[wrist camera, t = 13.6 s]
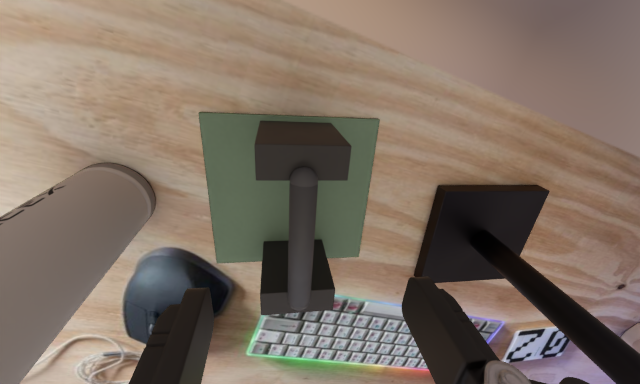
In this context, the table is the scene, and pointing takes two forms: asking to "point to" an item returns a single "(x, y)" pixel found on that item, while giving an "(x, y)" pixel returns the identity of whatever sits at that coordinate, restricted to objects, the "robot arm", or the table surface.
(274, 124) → the square-ended dumbbell
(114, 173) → the travel mug
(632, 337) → the mug
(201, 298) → the robot arm
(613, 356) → the stand
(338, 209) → the desk mat
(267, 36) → the table surface
